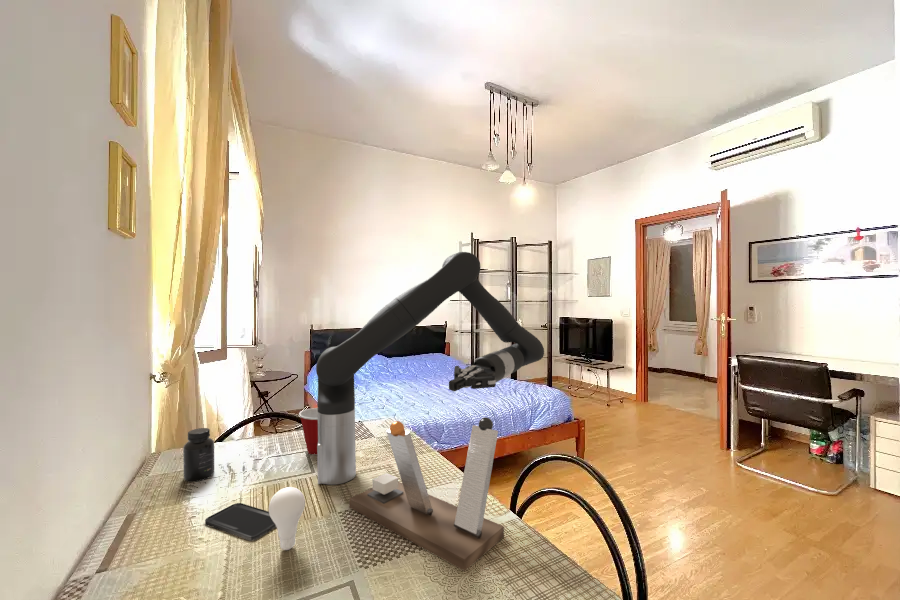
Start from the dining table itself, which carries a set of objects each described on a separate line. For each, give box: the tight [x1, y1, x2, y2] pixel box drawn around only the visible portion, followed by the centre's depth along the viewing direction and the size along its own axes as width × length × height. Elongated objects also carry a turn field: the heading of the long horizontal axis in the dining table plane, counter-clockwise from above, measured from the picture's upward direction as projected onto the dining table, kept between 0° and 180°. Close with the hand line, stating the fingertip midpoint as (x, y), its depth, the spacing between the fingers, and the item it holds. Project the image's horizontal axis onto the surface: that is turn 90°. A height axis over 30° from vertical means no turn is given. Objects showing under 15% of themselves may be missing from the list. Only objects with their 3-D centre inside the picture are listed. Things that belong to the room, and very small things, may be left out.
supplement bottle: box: [182, 427, 215, 483], centre depth 101 cm, size 7×7×12 cm
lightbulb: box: [268, 486, 306, 551], centre depth 71 cm, size 6×6×11 cm
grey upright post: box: [454, 416, 499, 538], centre depth 74 cm, size 3×6×21 cm, turn 50°
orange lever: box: [386, 420, 433, 515], centre depth 77 cm, size 3×6×21 cm, turn 50°
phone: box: [204, 502, 277, 542], centre depth 80 cm, size 8×1×15 cm
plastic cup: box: [298, 407, 318, 455], centre depth 118 cm, size 11×11×12 cm
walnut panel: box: [348, 481, 505, 572], centre depth 79 cm, size 12×32×2 cm, turn 50°
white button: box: [371, 472, 399, 495], centre depth 86 cm, size 4×4×3 cm
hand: (451, 386), depth 89 cm, fingers closed
